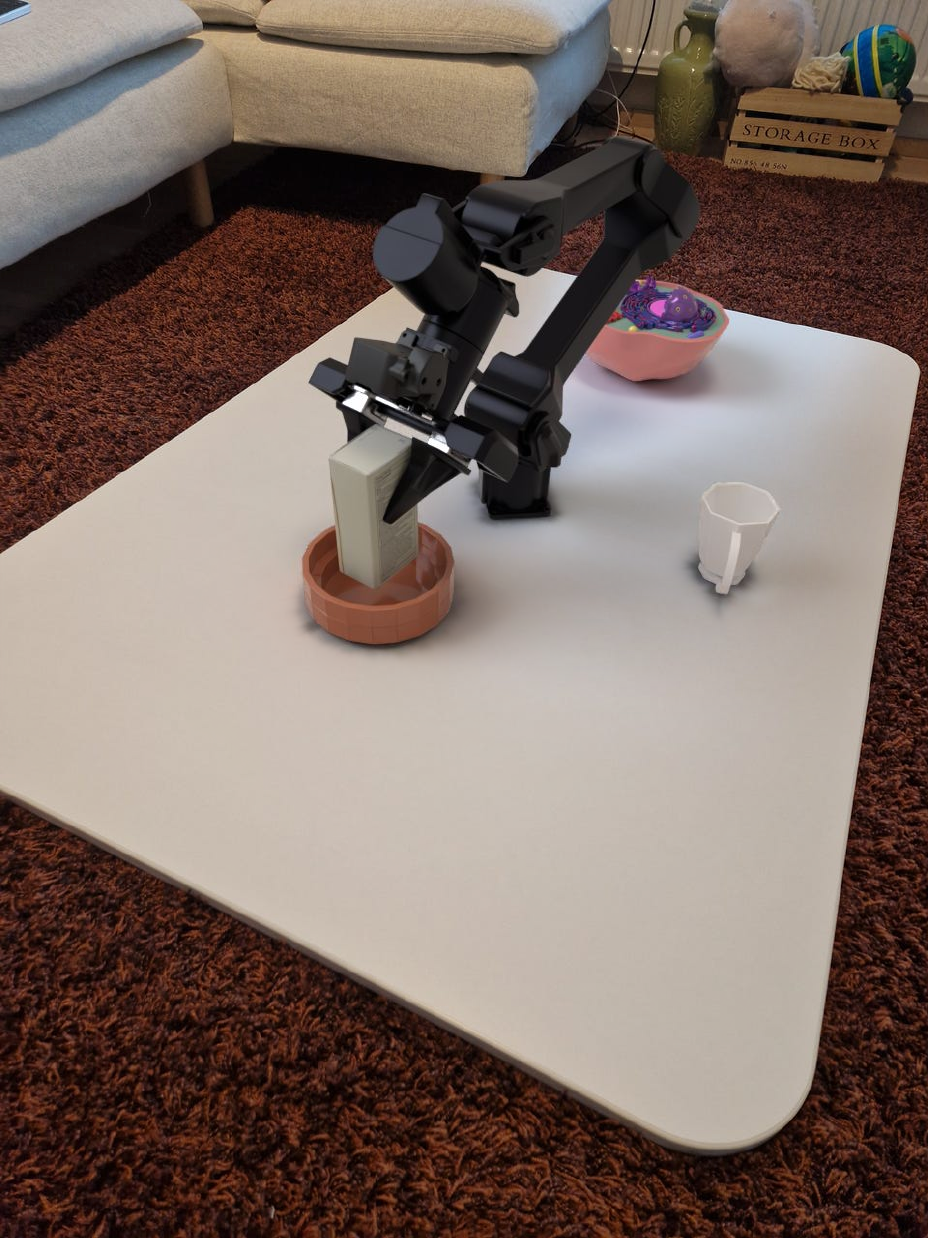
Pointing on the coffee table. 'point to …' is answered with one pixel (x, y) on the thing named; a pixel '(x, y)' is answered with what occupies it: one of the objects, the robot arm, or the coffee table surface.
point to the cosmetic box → (372, 506)
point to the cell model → (658, 331)
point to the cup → (732, 530)
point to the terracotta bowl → (379, 592)
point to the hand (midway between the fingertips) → (365, 511)
